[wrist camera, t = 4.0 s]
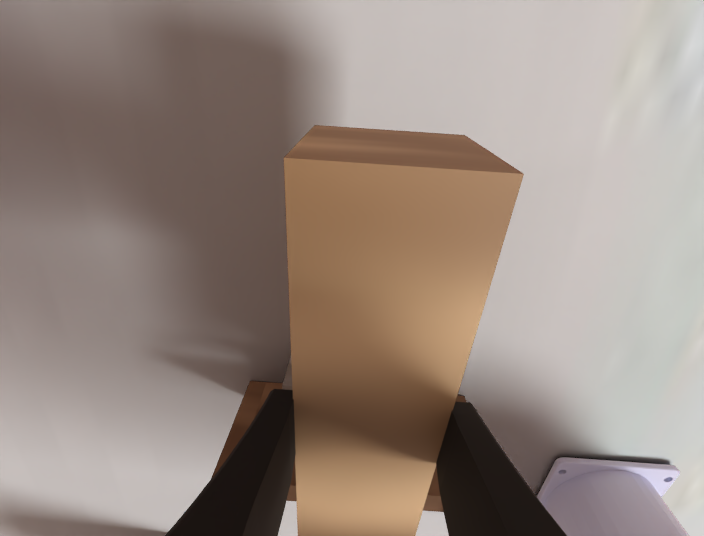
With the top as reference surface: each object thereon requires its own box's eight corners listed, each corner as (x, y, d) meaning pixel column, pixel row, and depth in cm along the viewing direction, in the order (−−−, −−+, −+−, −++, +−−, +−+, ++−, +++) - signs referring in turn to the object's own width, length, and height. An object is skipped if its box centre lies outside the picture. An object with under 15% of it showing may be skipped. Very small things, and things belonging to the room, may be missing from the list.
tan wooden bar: (397, 460, 16) (406, 564, 13) (313, 454, 16) (298, 557, 13) (464, 135, 9) (524, 173, 6) (314, 125, 9) (284, 158, 6)
